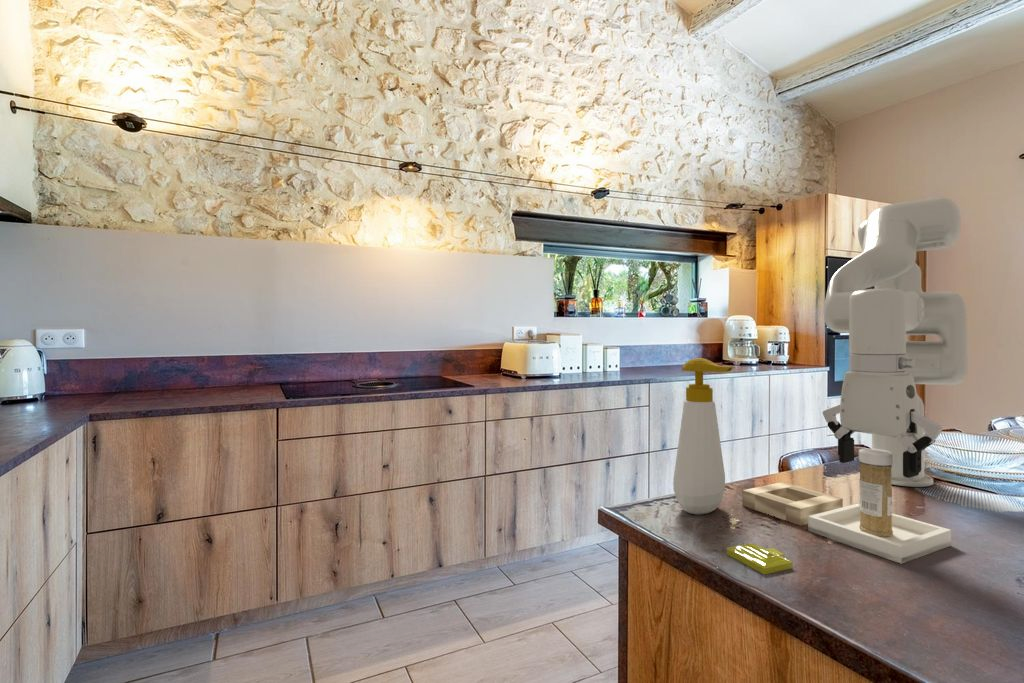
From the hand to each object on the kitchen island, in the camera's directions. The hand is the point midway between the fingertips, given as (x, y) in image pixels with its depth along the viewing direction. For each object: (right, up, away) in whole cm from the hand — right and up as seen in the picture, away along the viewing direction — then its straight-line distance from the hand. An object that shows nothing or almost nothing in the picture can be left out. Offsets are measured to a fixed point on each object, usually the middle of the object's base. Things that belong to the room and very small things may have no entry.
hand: (877, 468), depth 83 cm
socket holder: (-7, -11, +13) cm, 19 cm away
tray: (0, -11, 0) cm, 11 cm away
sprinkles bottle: (0, -11, 0) cm, 11 cm away
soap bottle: (-24, -12, +13) cm, 29 cm away
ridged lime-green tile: (-23, -13, -8) cm, 28 cm away
